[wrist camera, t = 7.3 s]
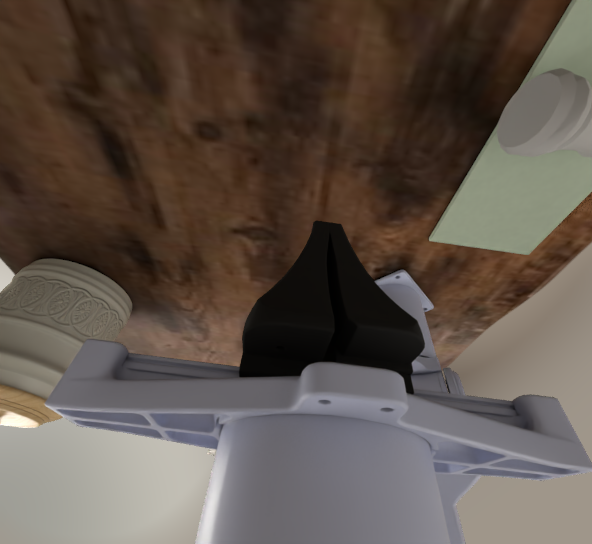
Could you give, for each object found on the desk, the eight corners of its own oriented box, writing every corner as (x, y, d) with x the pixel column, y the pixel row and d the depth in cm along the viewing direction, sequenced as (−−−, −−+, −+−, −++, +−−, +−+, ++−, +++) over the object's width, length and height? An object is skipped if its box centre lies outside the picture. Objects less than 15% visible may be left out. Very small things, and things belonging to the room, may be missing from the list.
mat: (526, 252, 27) (528, 255, 27) (428, 238, 27) (429, 241, 26) (851, -79, 12) (863, -80, 12) (642, -118, 12) (649, -120, 12)
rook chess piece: (586, 92, 13) (712, 130, 15) (546, 50, 16) (657, 85, 17) (506, 169, 17) (612, 193, 18) (483, 125, 19) (578, 149, 21)
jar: (112, 261, 33) (-16, 430, 21) (148, 322, 42) (75, 463, 30) (1, 250, 33) (-190, 412, 21) (62, 313, 42) (-45, 450, 30)
